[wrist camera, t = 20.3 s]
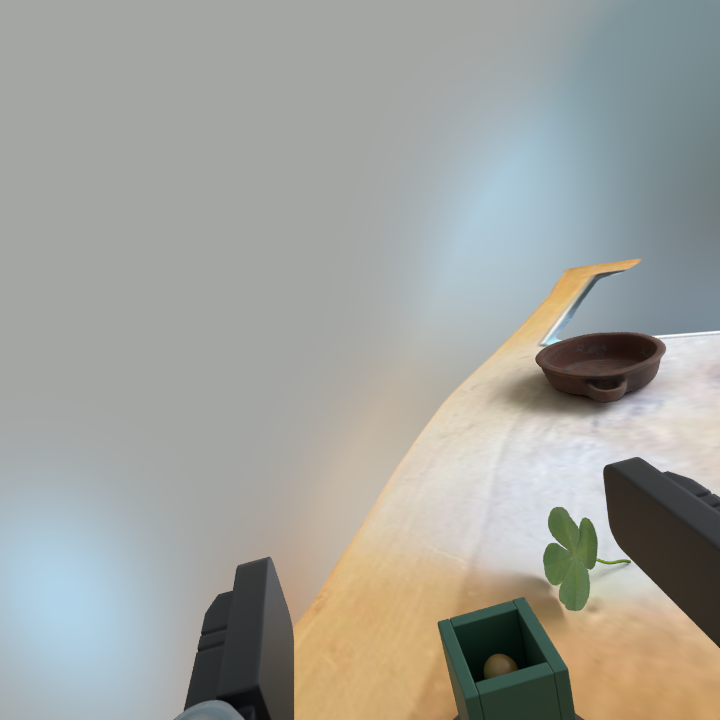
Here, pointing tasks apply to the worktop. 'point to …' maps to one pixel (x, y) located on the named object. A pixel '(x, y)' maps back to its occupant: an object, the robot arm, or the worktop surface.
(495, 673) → the brown peg stand
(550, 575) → the green leafy piece
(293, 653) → the robot arm
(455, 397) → the worktop surface
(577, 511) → the worktop surface
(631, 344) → the dish
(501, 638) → the sleeve
